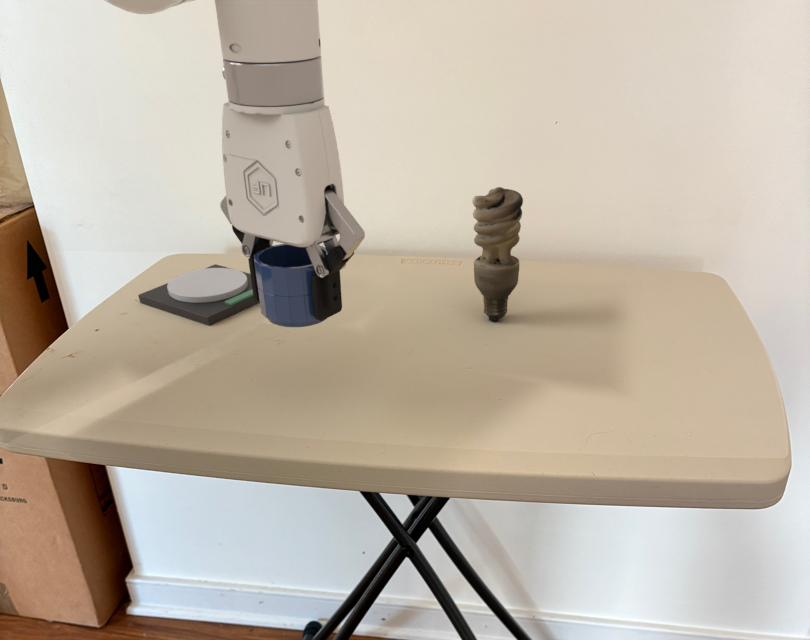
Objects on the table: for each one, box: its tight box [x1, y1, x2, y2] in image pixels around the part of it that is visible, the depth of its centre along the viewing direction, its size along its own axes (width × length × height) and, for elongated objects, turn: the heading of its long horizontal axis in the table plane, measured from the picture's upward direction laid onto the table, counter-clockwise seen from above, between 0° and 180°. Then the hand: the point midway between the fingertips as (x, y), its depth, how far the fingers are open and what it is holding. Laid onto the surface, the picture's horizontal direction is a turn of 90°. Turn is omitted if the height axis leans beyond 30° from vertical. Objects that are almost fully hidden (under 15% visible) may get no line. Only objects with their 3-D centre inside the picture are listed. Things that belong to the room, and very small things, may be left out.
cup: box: [254, 243, 328, 328], centre depth 69 cm, size 7×7×6 cm
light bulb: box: [472, 186, 524, 322], centre depth 87 cm, size 6×6×15 cm
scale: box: [137, 264, 260, 327], centre depth 97 cm, size 13×13×3 cm
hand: (297, 304), depth 70 cm, fingers closed on cup, 6 cm apart
